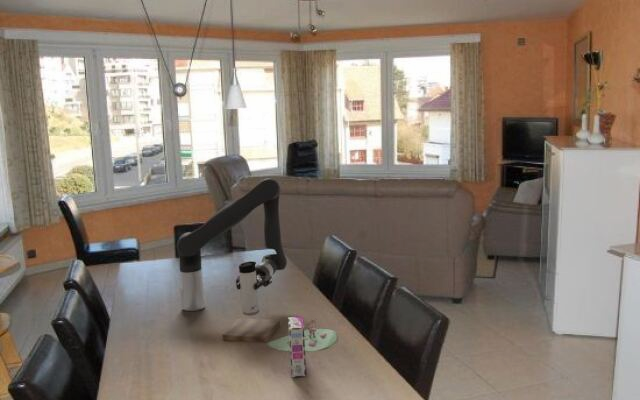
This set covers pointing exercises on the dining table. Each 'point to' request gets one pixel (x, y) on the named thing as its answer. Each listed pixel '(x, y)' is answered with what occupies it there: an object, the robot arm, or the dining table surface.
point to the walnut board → (251, 330)
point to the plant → (309, 339)
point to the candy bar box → (297, 347)
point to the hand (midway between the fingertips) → (246, 287)
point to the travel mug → (248, 288)
